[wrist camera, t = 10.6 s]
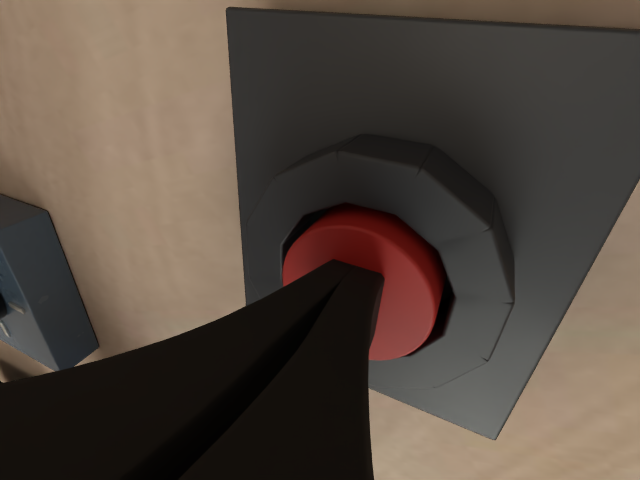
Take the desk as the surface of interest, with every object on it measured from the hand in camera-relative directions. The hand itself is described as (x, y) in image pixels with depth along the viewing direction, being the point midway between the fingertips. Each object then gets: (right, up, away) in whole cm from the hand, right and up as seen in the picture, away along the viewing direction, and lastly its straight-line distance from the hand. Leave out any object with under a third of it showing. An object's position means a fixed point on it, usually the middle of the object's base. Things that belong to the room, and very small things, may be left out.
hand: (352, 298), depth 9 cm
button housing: (+2, +2, +4) cm, 4 cm away
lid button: (+1, +1, +2) cm, 2 cm away
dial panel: (-22, -1, +18) cm, 29 cm away
